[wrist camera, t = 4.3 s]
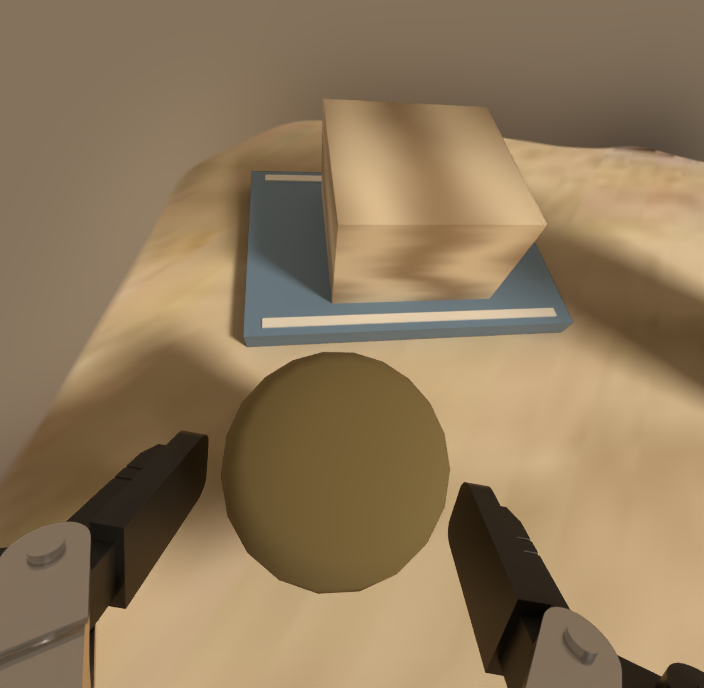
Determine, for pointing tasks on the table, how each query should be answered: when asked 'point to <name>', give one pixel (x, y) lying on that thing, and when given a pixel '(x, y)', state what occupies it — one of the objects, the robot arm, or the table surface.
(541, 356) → the table surface
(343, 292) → the maple pedestal
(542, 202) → the table surface
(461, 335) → the board
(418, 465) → the cork
